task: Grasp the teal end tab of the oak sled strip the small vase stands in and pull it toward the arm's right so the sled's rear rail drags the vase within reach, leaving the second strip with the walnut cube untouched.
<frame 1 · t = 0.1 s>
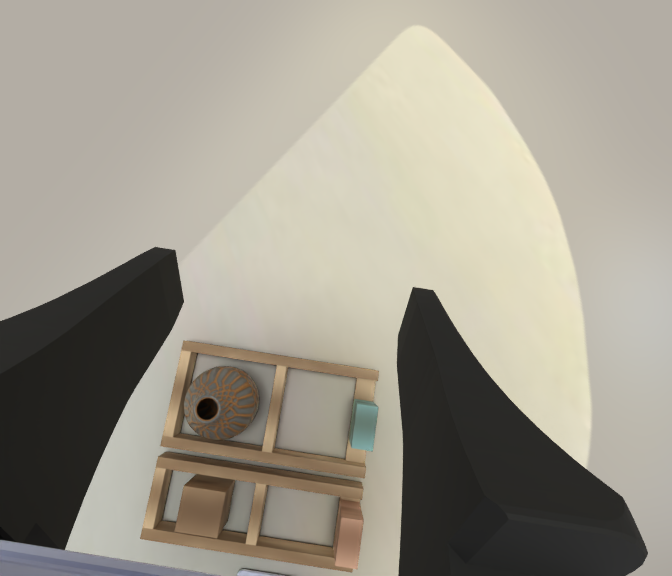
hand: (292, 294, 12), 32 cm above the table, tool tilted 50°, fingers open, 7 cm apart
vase: (231, 397, 42), resting in sled a
sled a: (271, 408, 39), point 3 cm above the table, slide at 0.0 cm
walnut cube: (212, 496, 41), resting in sled b
sled b: (252, 515, 38), point 3 cm above the table, slide at 0.0 cm
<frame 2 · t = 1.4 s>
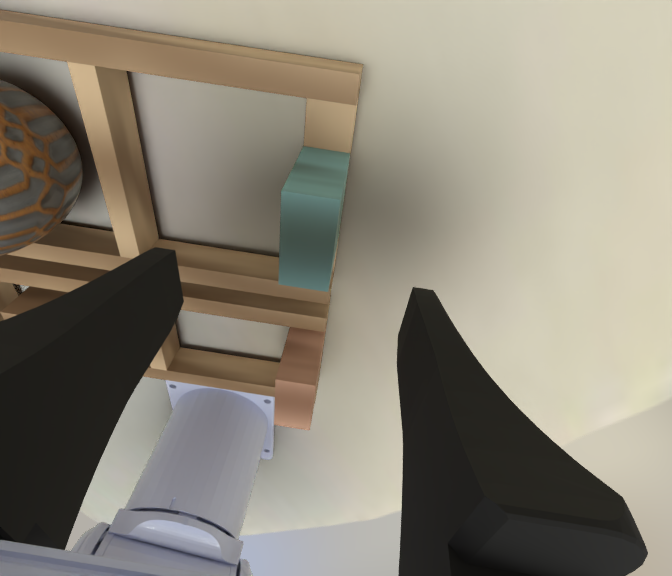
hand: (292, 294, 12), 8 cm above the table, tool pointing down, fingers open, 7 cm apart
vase: (37, 139, 19), resting in sled a
sled a: (97, 180, 16), point 3 cm above the table, slide at 0.0 cm
walnut cube: (92, 298, 25), resting in sled b
sled b: (142, 344, 23), point 3 cm above the table, slide at 0.0 cm
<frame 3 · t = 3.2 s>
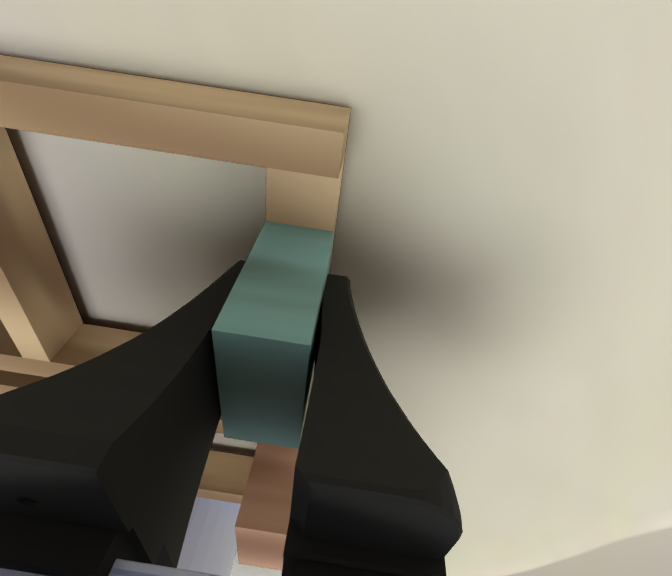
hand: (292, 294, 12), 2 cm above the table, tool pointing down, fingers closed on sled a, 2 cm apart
sled b: (69, 452, 17), point 3 cm above the table, slide at 0.0 cm
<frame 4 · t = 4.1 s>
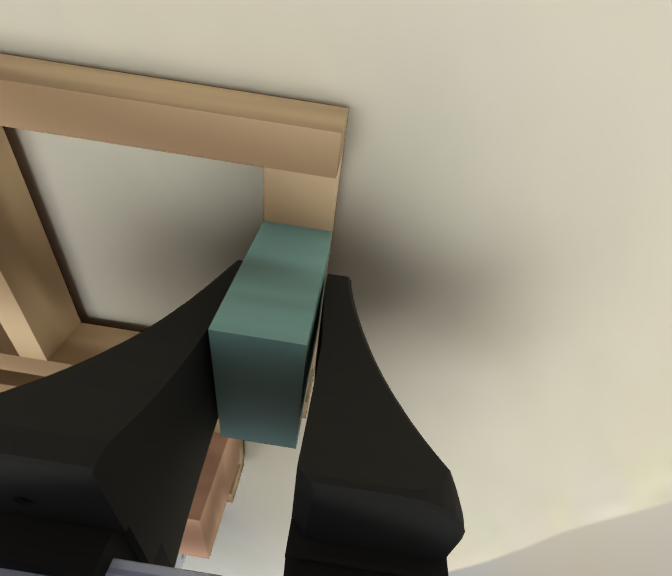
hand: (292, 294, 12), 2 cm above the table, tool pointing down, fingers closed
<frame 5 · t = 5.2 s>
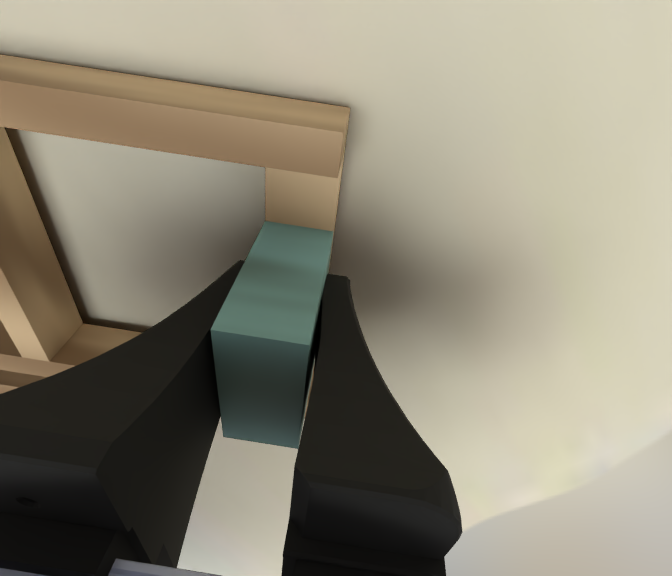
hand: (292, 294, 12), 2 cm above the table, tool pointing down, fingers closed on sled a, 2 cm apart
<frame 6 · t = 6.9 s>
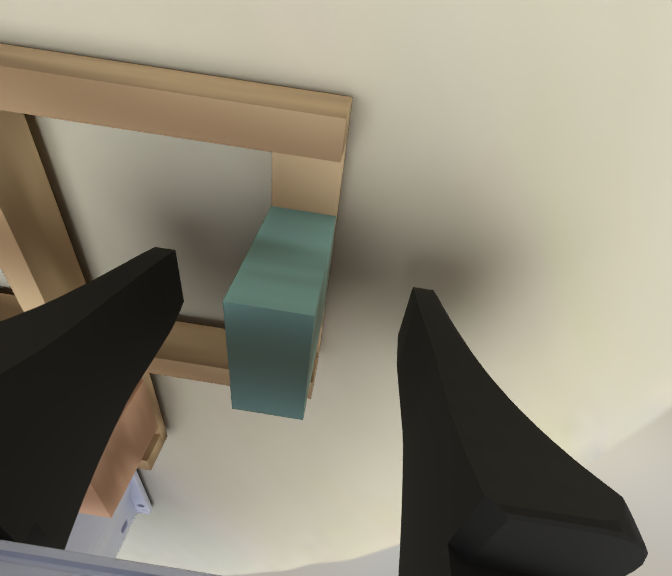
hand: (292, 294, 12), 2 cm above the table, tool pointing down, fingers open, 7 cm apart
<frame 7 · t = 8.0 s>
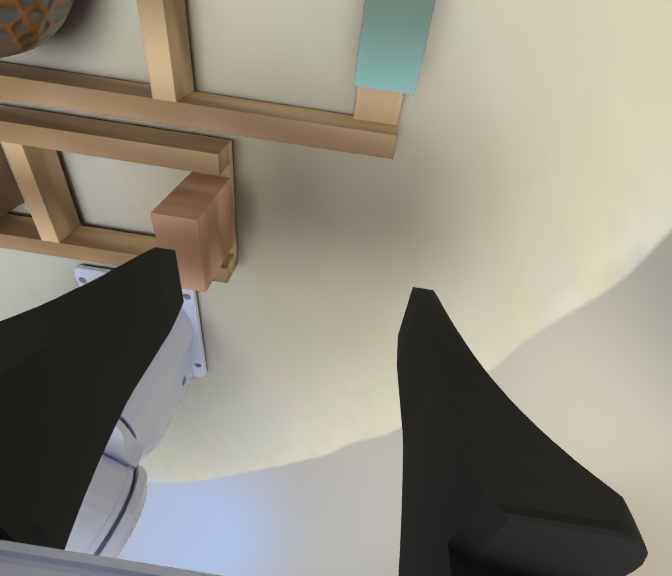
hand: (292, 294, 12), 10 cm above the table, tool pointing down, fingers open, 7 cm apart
sled b: (20, 200, 20), point 3 cm above the table, slide at 0.0 cm
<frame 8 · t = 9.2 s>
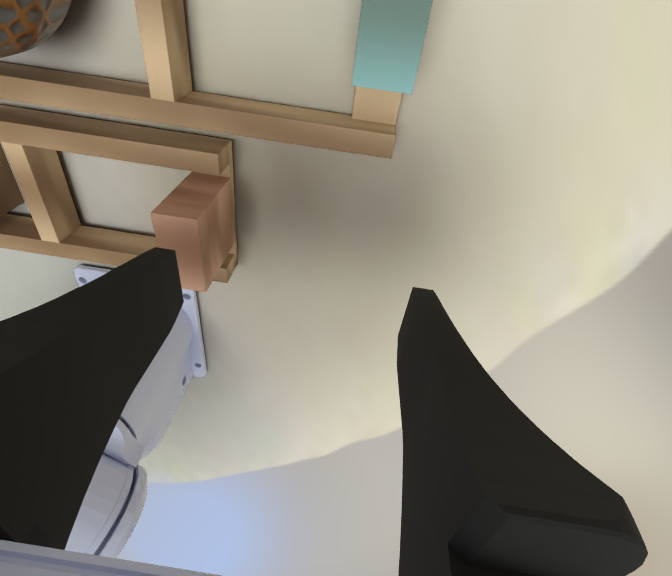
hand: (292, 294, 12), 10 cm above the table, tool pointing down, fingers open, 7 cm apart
sled b: (20, 200, 20), point 3 cm above the table, slide at 0.0 cm
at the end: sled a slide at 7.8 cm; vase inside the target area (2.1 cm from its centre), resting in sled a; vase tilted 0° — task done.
